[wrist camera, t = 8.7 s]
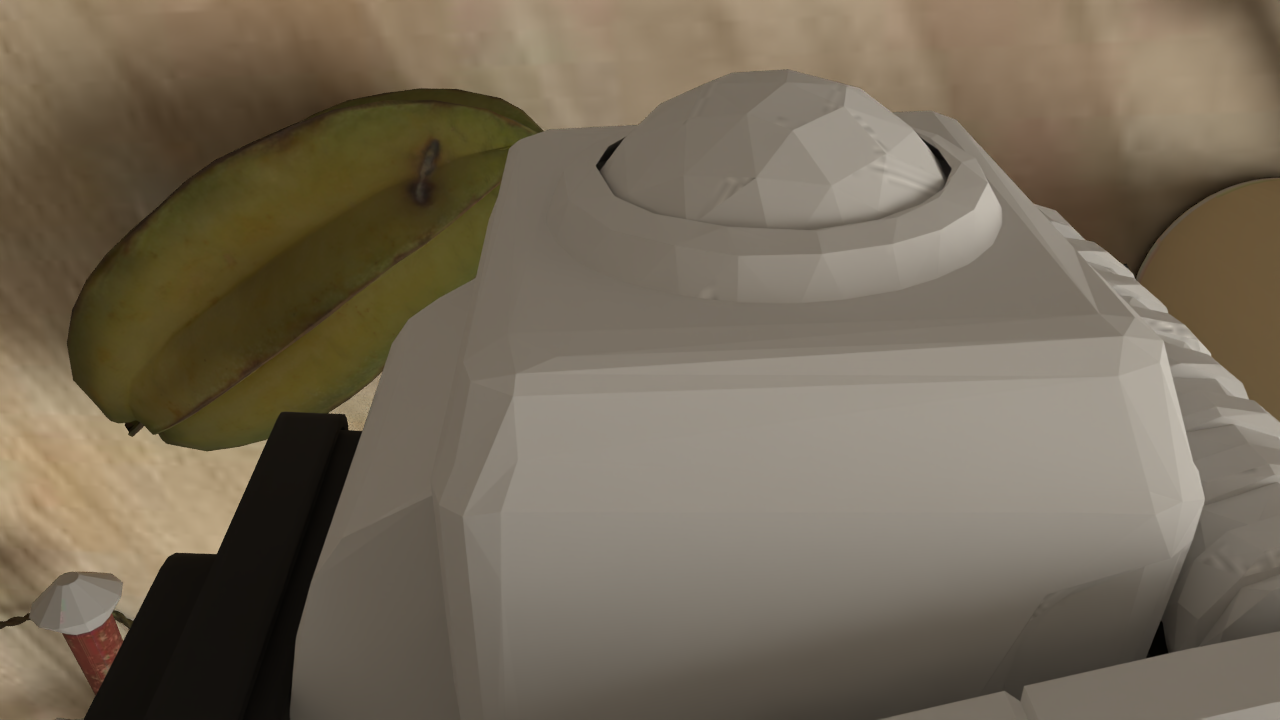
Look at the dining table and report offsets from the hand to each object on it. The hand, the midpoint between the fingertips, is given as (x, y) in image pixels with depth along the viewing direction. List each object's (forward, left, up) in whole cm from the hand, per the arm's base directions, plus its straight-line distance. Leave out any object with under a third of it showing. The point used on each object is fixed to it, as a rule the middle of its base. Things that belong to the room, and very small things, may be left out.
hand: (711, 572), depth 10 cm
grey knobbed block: (-5, 0, +2) cm, 6 cm away
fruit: (+6, -8, -24) cm, 26 cm away
